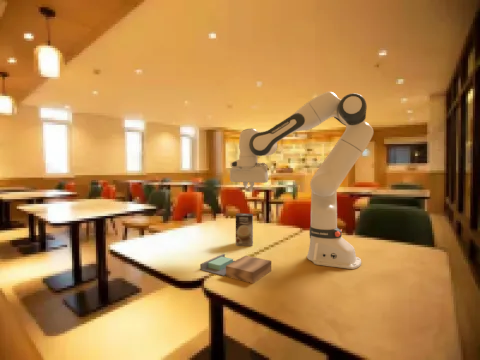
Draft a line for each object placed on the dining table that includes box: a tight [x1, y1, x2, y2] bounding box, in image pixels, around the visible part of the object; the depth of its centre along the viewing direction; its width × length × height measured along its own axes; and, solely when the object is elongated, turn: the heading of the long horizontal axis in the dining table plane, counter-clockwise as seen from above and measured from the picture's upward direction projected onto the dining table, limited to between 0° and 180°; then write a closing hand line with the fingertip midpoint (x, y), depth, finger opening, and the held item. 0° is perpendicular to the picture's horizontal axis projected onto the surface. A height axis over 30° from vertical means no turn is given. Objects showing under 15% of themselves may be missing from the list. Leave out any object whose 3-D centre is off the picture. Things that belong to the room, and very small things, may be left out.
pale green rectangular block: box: [208, 256, 234, 270], centre depth 114 cm, size 6×9×2 cm, turn 146°
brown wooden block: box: [226, 255, 272, 284], centre depth 107 cm, size 12×14×4 cm
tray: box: [199, 253, 235, 277], centre depth 114 cm, size 12×15×2 cm
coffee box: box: [235, 212, 254, 247], centre depth 146 cm, size 9×6×16 cm
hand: (248, 191), depth 133 cm, fingers closed
